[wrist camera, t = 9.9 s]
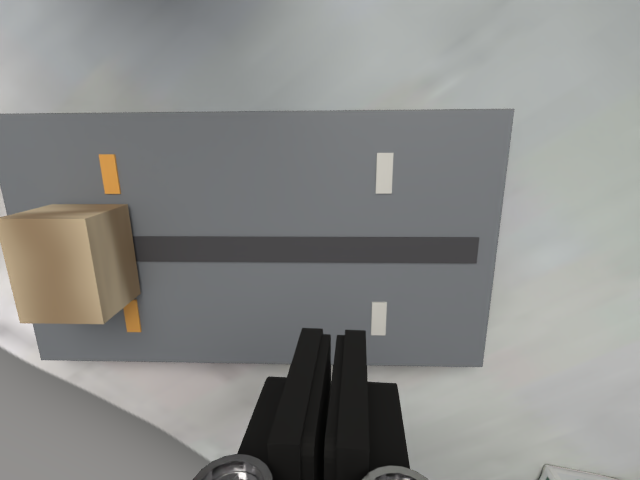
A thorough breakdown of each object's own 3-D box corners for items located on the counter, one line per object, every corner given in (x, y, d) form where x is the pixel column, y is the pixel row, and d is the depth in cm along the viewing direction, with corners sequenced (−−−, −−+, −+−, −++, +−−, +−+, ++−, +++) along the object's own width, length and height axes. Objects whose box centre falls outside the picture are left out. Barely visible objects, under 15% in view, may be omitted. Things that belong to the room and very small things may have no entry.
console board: (497, 110, 20) (515, 108, 18) (470, 348, 24) (483, 368, 22) (15, 115, 21) (-19, 113, 19) (64, 342, 25) (39, 360, 23)
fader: (127, 204, 20) (84, 218, 16) (140, 293, 21) (103, 324, 18) (52, 204, 20) (-6, 218, 16) (70, 292, 21) (20, 323, 18)
